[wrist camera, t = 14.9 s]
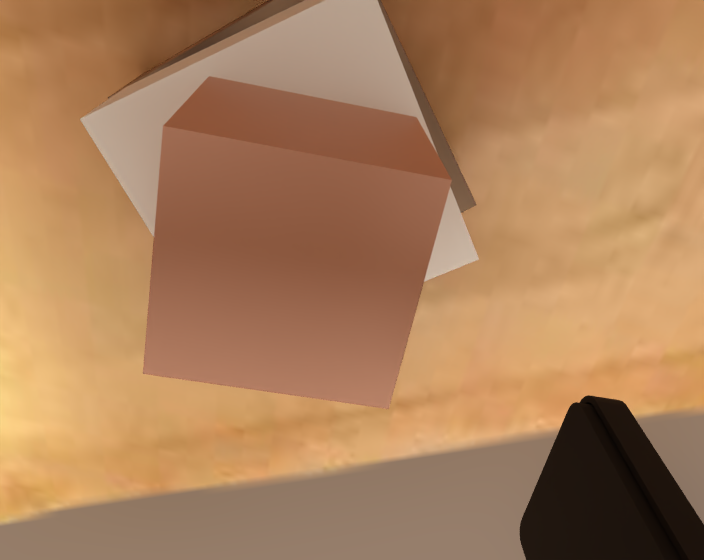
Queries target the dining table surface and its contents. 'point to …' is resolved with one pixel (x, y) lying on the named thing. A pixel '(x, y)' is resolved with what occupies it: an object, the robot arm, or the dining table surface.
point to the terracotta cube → (290, 243)
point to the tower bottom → (279, 3)
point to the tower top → (277, 73)
